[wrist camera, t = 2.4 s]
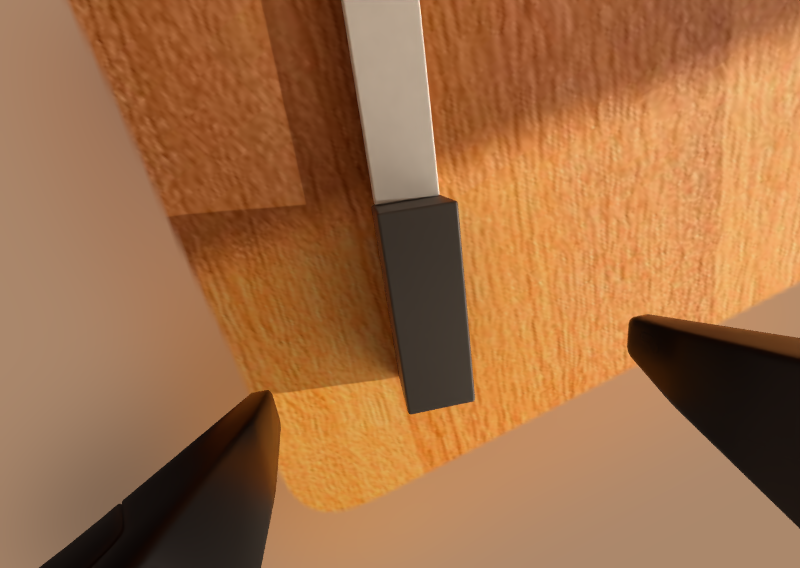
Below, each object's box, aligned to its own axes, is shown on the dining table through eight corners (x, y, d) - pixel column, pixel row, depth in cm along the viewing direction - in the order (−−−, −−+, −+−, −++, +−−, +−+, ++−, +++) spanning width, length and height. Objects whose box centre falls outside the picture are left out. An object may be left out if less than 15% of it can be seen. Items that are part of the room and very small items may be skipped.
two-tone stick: (456, 366, 15) (475, 401, 13) (399, 378, 15) (408, 415, 13) (398, -195, 10) (414, -300, 8) (306, -188, 10) (294, -294, 7)
